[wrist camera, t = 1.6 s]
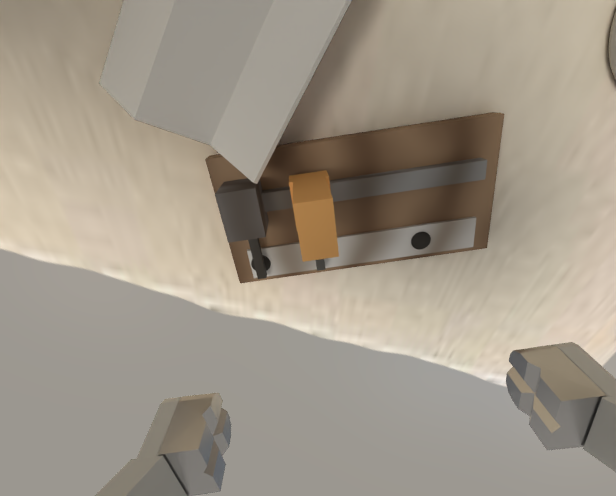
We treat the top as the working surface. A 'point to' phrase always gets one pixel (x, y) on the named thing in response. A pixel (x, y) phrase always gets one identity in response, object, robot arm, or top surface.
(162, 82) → the z bracket
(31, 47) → the top surface
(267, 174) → the gauge board
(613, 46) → the cylinder vase
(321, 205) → the sliding jaw
